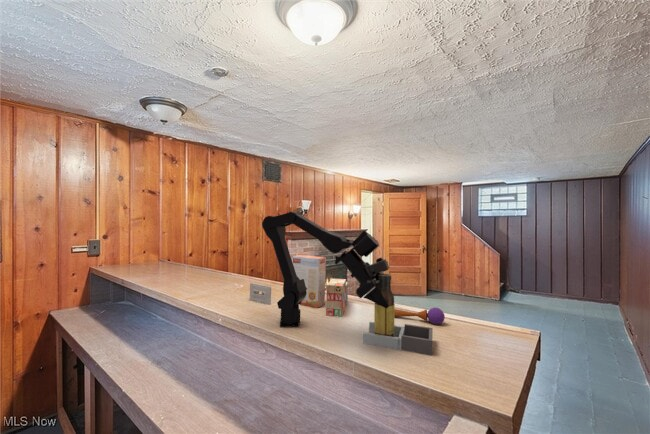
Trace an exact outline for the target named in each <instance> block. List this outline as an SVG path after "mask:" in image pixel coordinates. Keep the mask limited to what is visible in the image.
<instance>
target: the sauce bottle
mask: <svg viewBox="0 0 650 434" xmlns="http://www.w3.org/2000/svg"><path fill="white" fill-rule="evenodd" d="M378 279H379V284H380V287H379V291H380V292H381V294H382V296H383V297H384V299H385V300H386V302H387V303H388V305H389V307H388V308H384V307H382V306H381V305H379V304H377V303H375V302H374V321H373V322H374V330H375V332H374V334H378V335H384V336H390V337H395V336H394V325H395V317H394V309H396V308H395V296H394V293H393V291H392V290H391V289H392V286H391V281H392V275H391V274H389V273H383V274H379V275H378Z"/></svg>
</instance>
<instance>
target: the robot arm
mask: <svg viewBox="0 0 650 434" xmlns="http://www.w3.org/2000/svg"><path fill="white" fill-rule="evenodd" d="M291 225H294V226H296V227H297V228H299V229H301V230H302V231H304V232H306V233H307V234H308V235H310V236H312V237H314V238H315V239H317V240H318V241H319V242H320V244H321V245H322V246H323V247H325V248H326V250H328V251H329V252H330V253H333V254H337V253H341V252H342V253H341V254H340V255H335V259H334V264H335V265H339V264H340V263H342V264H343V265H344V267H346V269H347V271H348V272H349V273H350V277H351V278H355V279H356V281H357V282H358V283H359V285H358V286H359V287H357V288H356V290H355V291H356V293H355V294H356V296H358V298H359V299H362V298H363V299H366V300H369V301H371V302H373V303H374V304H375V303H377V304H379V305H381V306H382V307H384V308H388V307H389V305H388V303H387V302H386V300H385V299H384V297H383V296H382V294H381V292H380V291H379V287H380V284H379V279H378V275H379V274H384V272H387V271H388V270H390V266H389V263H388V261H387V259H386V258H384V259H383V258H382V257H378V258H376V260H375V261H376V262H373V263H372V264H370V263H369V262H367V261H366V262H365V261H364V260H363V259H362V257H366V258H368V256H369V255H371V254H372V253H373V252H374V251H375V250H376V249H377V248H379V247H380V243H379V242H378V240H377V239H376V238H375V236H372V235H371V234H370V233H369V232H368V231H366V230H363V231H362V232H361V233H360V234H359V235H358V237H356V238H355V239H354V240H353V239H348V238H346V236H344V235H343V234H341V233H340V234H339V233H337V232H336V231H335V232H334V231H332V230H328V229H325V228H324V227H322V226H321V225H319V224H317V223H315V222H314V221H312V220H310V219H309V218H307V217H305V216H303V215H302V214H300V212H297V211H288V212H287V213H283V214H277V215H267V216H265V217H264V218H263V220H262V222H261V227H262V229H263V231H264V233H265V235H266V237H267V238H268V239H269V240H270V241H271V243H272V246H273V250H274V253H275V256H276V259H277V263H278V266H279V269H280V271H281V276H282V279H283V283H282V285H283V286H282V291H283V292H282V293H283V297H281V298H280V299H279V300H278V301H277V302H276V303H277V307H278V309H280V322H279V327H280V328H281V327H294V328H295V327H299V326H300V323H301V309H300V305H302V304H301V302H302V300H303V299H304V298H305V297H306V294H307V292H306V290H307V288H306V286H305V281H304V279H301V280H300V279H299V278H298V277H297V275H296V272H295V269H294V266H293V258H292V256H291V254H290V251H289V247H288V244H287V241H286V231H287V230H286V227H289V226H291ZM349 248H351V249H350V250H349V251H348V250H347V249H349Z"/></svg>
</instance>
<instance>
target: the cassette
mask: <svg viewBox="0 0 650 434" xmlns="http://www.w3.org/2000/svg"><path fill="white" fill-rule="evenodd" d="M249 301H250V302H251V301H252V302H254V303H259V304H263V305H267V306H268V305H270V306H271V305H272V286H269V285H265V284H259V283H256V282H255V283H254V282H250V283H249Z"/></svg>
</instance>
